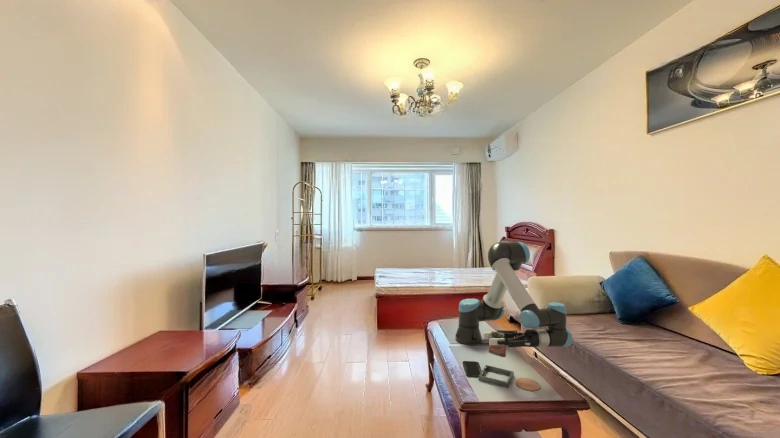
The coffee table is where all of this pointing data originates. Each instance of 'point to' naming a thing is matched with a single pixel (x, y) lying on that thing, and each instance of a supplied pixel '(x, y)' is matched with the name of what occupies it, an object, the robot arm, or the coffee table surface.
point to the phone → (472, 368)
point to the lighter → (497, 349)
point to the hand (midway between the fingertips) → (486, 338)
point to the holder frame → (495, 381)
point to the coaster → (527, 384)
